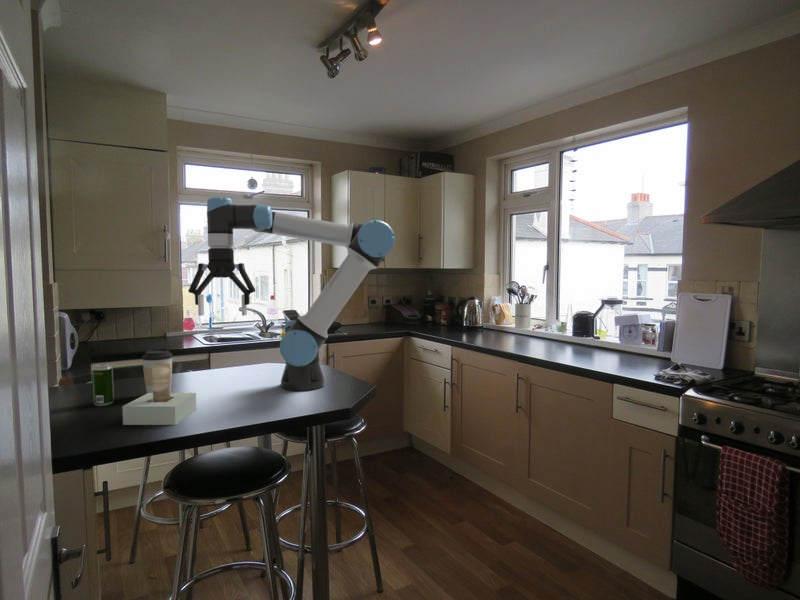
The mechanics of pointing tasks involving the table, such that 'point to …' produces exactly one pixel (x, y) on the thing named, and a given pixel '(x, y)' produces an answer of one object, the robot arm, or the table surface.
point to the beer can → (103, 384)
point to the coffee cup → (153, 358)
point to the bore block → (159, 410)
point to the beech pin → (161, 382)
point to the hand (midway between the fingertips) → (222, 315)
